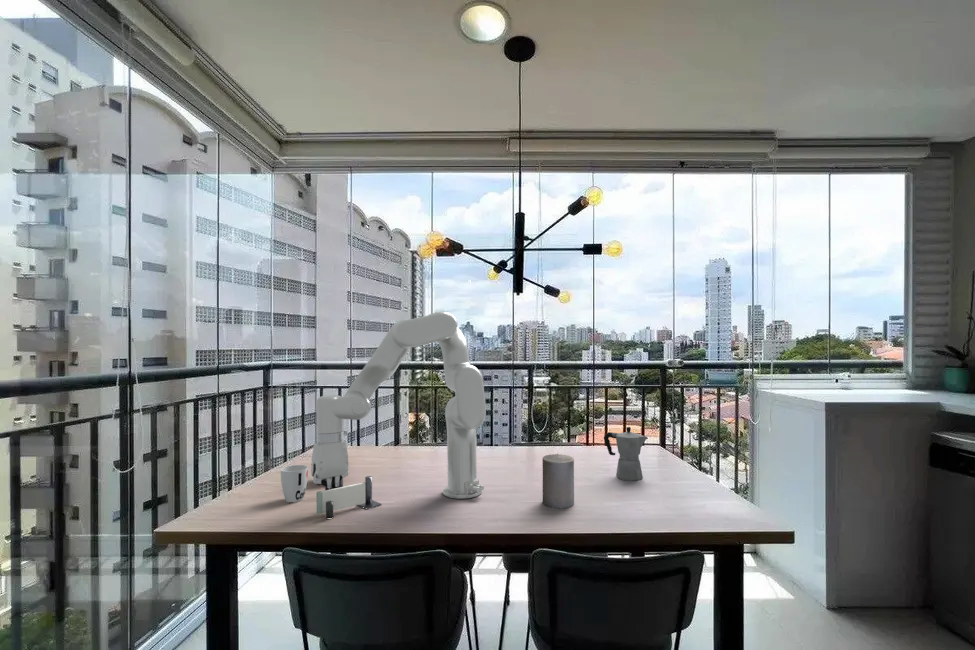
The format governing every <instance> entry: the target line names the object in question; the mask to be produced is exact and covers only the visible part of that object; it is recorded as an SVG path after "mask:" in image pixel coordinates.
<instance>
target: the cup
mask: <svg viewBox="0 0 975 650" xmlns="http://www.w3.org/2000/svg"><path fill="white" fill-rule="evenodd" d="M308 471H309V466H308V465H305V464H294V465H287V466H284V467H281V468H280V481H281V482H280V483H281V487H282V493H283V497H284V499H285V502H286V503H289V502H293V503H298V501H299V502H302V501H303V500H304V498H305V494H306V490H307V485H308V484H307V483H308Z"/></svg>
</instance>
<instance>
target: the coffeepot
mask: <svg viewBox="0 0 975 650" xmlns="http://www.w3.org/2000/svg"><path fill="white" fill-rule="evenodd" d="M625 429H626V431H625V432H620V433H618V432H610V431H609V432H607V433H606V434H605V435H604V436H603V441H604V444H605V445H606V449H607V451H608V454H609V455H610V456H616V452H613V449H612V446H611V441H610V438H612V439H615V440H616V448H617V453H618V454H619V458H618V460H617V461H618V462H617V468H616V474H615V476H616V477H617V478H618V479H619V480H623V481H627V482H628V481H631V482H636V481H640V480H643V478H644V476H643V471H642V466H641V461H640V457H639V456H640V454H641V450H642V449H641V448H642V447H643V445H644V443H645V442H646V441H647V440H648V439H649V438H648V436H646V435H642V434H639V433H635V432H631V429H632V428H631V427H630V426H626V427H625Z"/></svg>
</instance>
